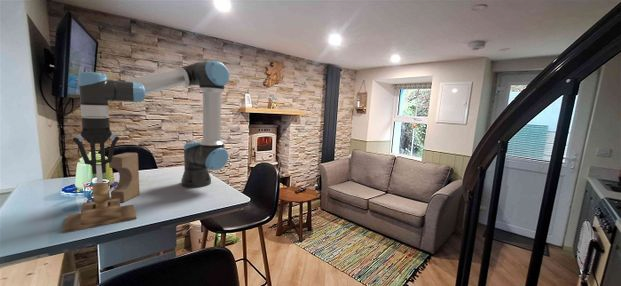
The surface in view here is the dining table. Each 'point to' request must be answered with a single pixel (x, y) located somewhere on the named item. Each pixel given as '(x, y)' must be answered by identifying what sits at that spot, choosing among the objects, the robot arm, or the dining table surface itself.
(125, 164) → the decorative block
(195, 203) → the dining table surface
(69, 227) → the board
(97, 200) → the peg
